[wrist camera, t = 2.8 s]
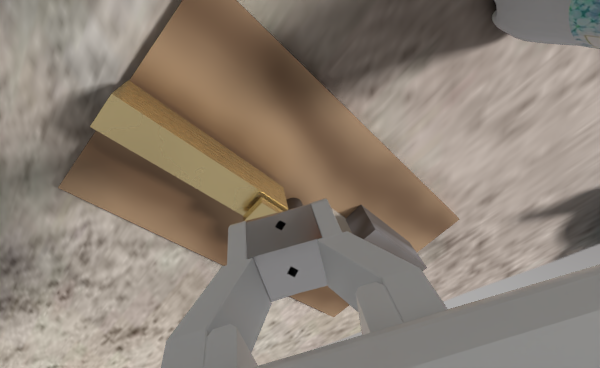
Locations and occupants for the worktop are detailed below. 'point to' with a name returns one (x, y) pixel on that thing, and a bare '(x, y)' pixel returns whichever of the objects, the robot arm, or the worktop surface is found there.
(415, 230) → the latch board
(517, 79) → the worktop surface
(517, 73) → the worktop surface
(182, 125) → the swing bar
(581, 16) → the bottle
